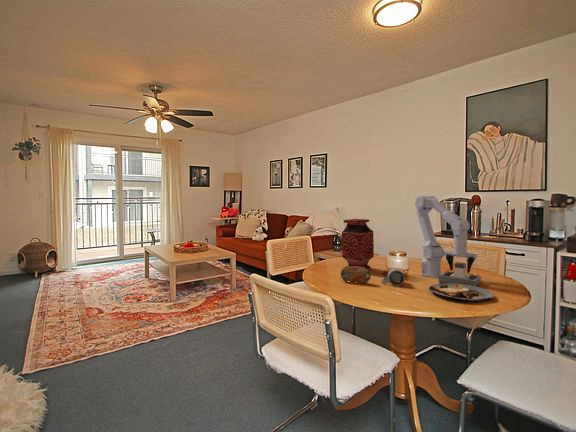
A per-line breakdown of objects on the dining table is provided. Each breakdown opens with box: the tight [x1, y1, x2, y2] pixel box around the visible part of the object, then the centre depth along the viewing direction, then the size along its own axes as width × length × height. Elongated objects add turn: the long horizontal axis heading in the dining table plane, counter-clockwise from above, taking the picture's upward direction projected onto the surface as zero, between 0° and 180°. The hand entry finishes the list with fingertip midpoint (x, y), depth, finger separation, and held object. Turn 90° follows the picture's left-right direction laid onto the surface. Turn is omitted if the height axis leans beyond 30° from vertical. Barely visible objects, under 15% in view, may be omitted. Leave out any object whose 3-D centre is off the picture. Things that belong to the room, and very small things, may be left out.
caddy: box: [438, 271, 482, 287], centre depth 158 cm, size 16×12×4 cm
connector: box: [454, 261, 467, 277], centre depth 158 cm, size 4×4×9 cm
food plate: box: [428, 283, 495, 302], centre depth 140 cm, size 25×23×4 cm
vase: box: [341, 218, 375, 270], centre depth 192 cm, size 14×14×30 cm
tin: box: [340, 265, 372, 284], centre depth 163 cm, size 15×3×8 cm, turn 65°
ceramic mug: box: [381, 268, 406, 287], centre depth 160 cm, size 11×8×8 cm
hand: (459, 271), depth 158 cm, fingers open, 7 cm apart
